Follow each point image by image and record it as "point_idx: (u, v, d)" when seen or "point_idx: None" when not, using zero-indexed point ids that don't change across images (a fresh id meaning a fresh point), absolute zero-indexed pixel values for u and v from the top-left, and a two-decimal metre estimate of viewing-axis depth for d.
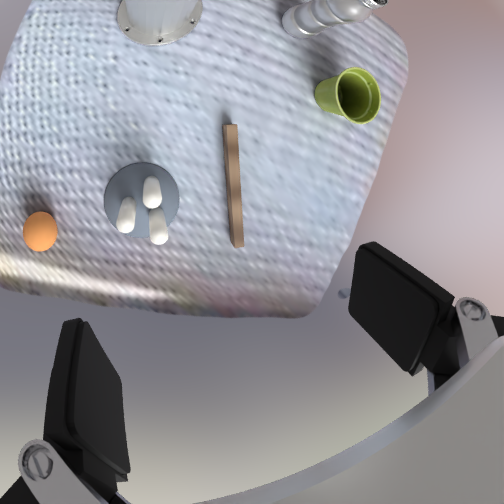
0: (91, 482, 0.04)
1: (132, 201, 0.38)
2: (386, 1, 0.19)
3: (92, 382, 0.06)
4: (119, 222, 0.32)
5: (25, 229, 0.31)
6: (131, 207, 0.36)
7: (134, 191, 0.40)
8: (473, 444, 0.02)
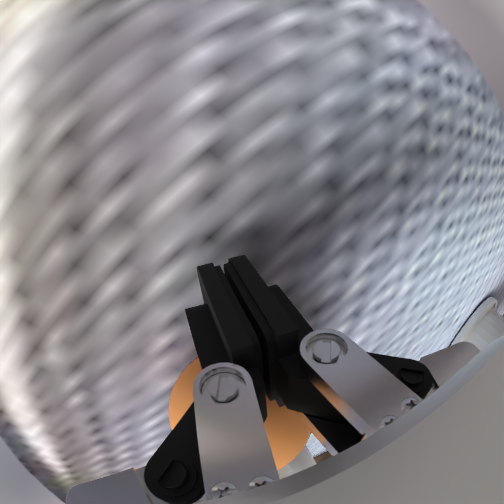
0: None
1: None
2: None
3: None
4: None
5: None
6: None
7: None
8: (473, 444, 0.02)
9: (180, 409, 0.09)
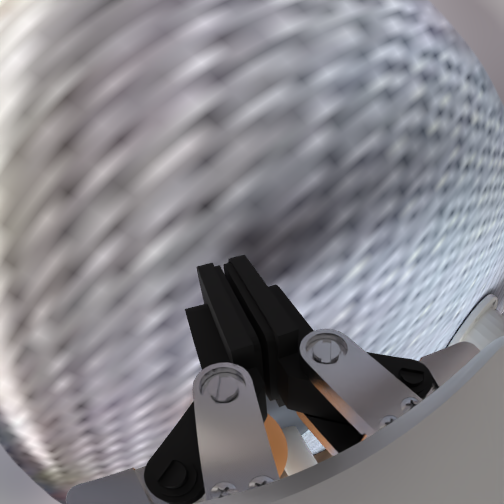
0: None
1: None
2: None
3: None
4: None
5: None
6: None
7: None
8: (473, 444, 0.02)
9: None
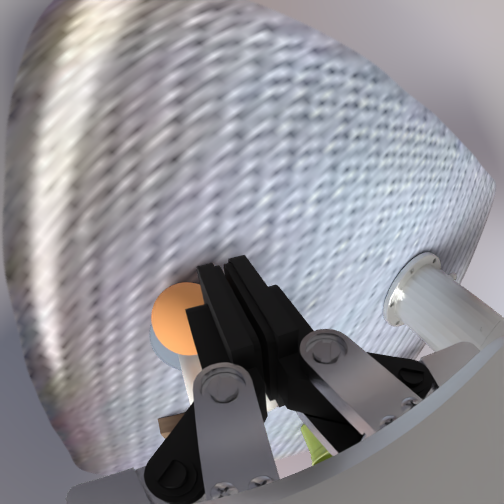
0: None
1: None
2: None
3: None
4: None
5: None
6: None
7: None
8: (473, 444, 0.02)
9: (161, 342, 0.21)
